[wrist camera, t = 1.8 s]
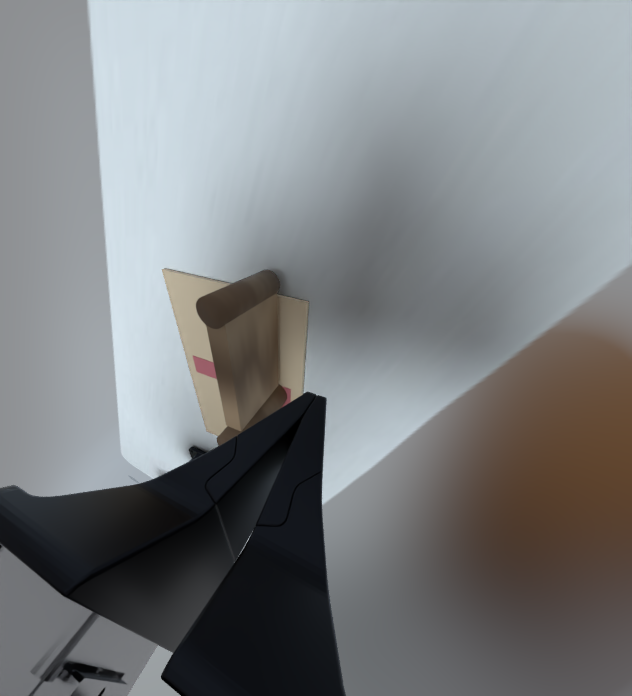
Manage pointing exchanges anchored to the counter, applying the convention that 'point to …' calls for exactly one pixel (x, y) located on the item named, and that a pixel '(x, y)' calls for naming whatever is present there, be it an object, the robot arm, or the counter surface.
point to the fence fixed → (257, 414)
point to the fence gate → (243, 343)
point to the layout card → (198, 349)
